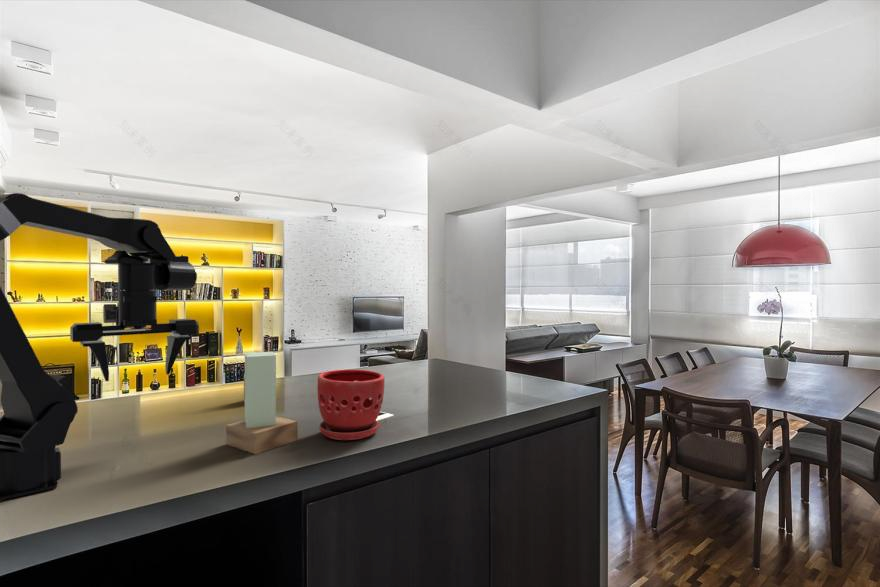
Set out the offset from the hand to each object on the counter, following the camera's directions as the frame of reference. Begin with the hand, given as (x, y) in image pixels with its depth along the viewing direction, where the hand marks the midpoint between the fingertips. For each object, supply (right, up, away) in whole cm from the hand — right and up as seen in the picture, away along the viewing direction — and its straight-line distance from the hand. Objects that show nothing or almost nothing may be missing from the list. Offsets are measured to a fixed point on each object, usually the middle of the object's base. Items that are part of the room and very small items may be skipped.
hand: (138, 377), depth 82 cm
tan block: (+21, -13, +4) cm, 25 cm away
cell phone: (+35, -13, +24) cm, 45 cm away
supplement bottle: (+7, -13, +36) cm, 39 cm away
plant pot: (+36, -13, +9) cm, 40 cm away
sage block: (+20, -9, +4) cm, 23 cm away
